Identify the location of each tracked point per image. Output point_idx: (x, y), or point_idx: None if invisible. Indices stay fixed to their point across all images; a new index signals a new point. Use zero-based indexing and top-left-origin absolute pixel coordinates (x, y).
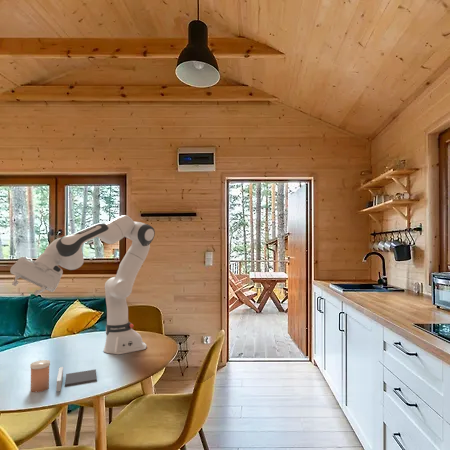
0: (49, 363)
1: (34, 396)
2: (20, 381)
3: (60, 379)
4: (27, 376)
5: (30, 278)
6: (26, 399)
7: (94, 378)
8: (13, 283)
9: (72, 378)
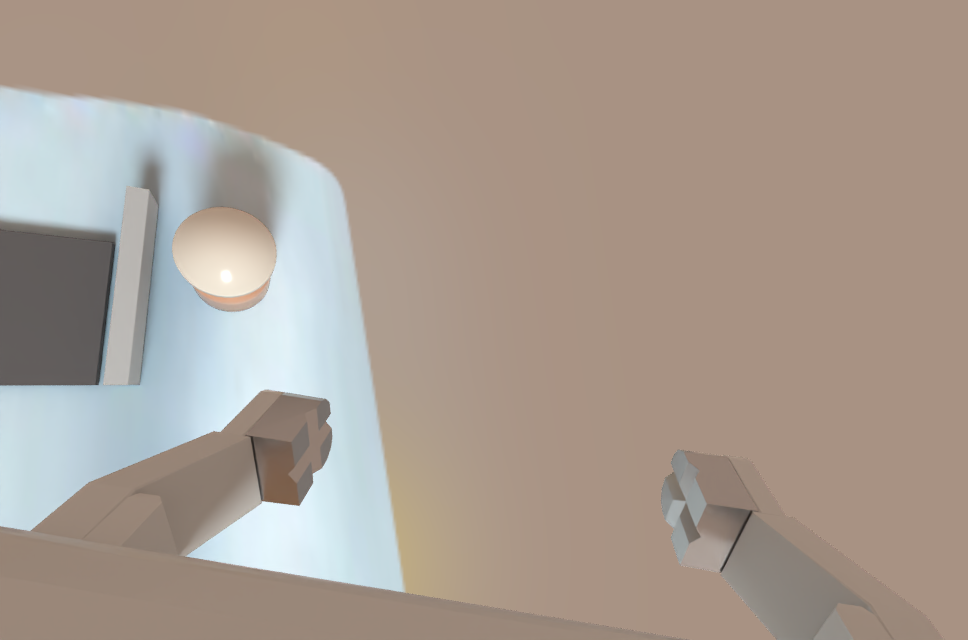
0: (176, 235)
1: None
2: None
3: (128, 199)
4: None
5: (540, 618)
6: (277, 207)
7: None
8: (723, 457)
9: (63, 301)
